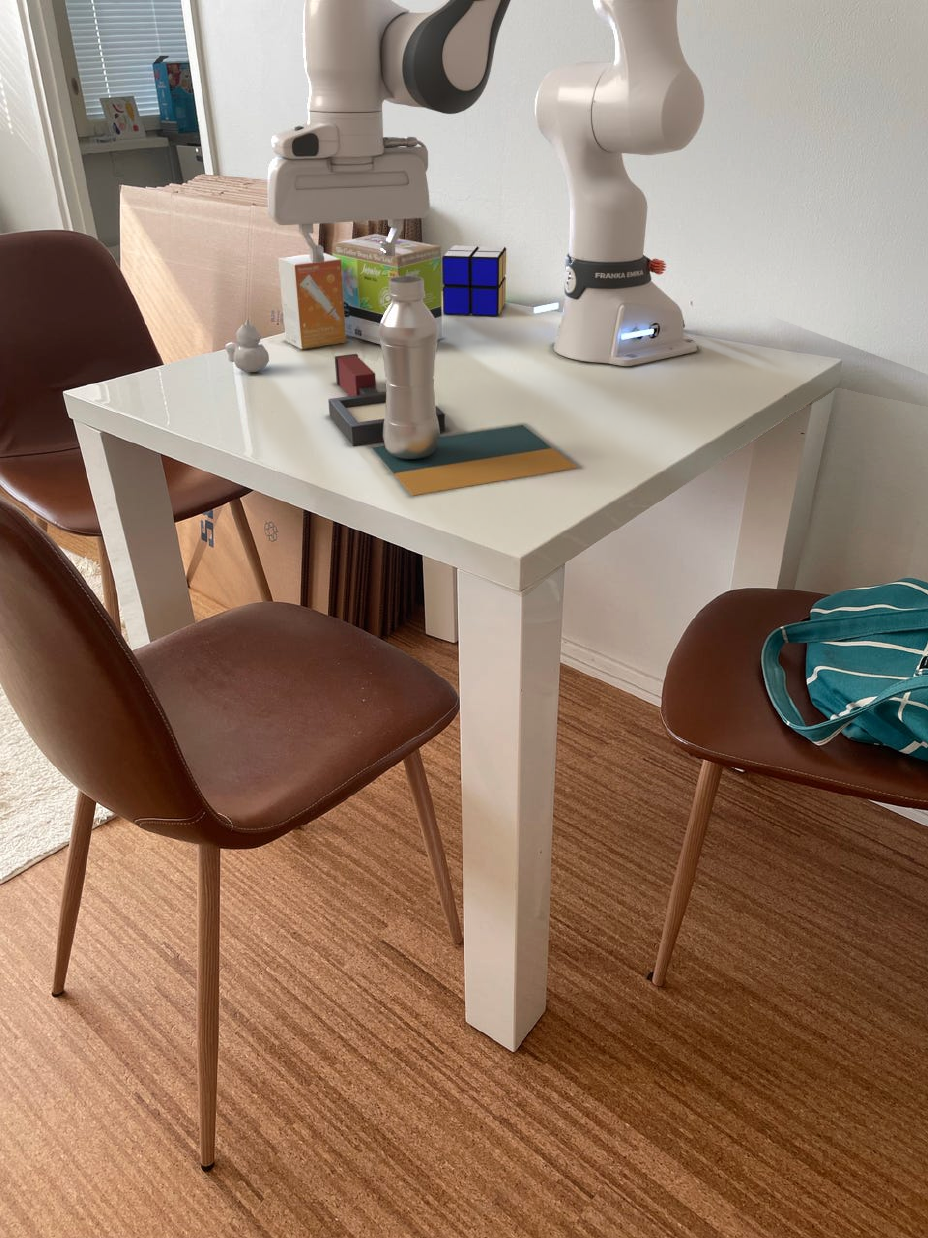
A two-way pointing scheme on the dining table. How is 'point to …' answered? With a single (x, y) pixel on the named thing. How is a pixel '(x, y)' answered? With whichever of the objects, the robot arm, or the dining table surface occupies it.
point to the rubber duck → (248, 349)
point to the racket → (361, 402)
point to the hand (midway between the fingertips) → (353, 258)
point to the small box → (312, 301)
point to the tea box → (384, 280)
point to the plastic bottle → (409, 371)
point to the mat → (476, 460)
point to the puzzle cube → (474, 280)
